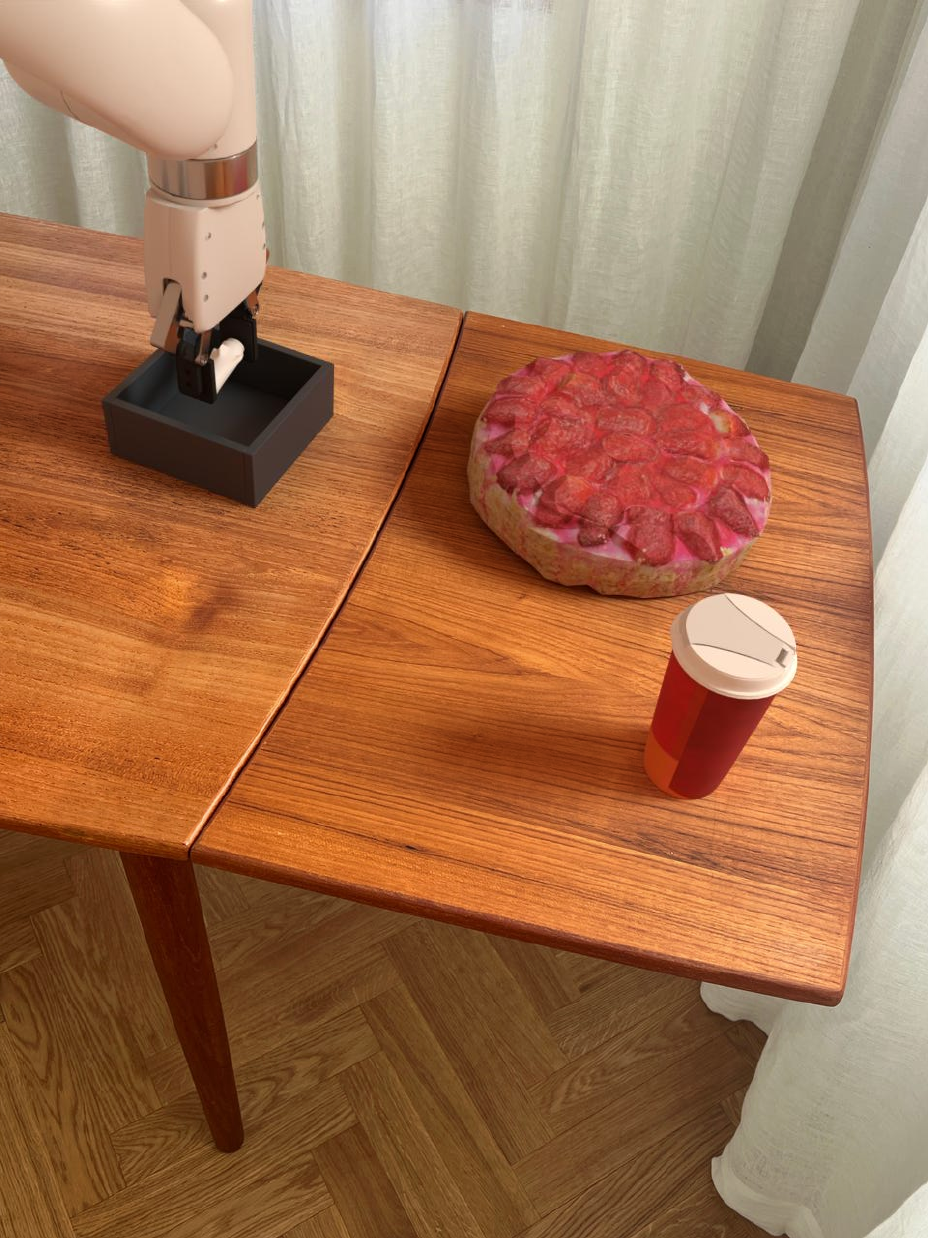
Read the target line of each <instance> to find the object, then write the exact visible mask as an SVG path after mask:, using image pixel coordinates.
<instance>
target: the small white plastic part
mask: <svg viewBox="0 0 928 1238" xmlns="http://www.w3.org/2000/svg"><path fill="white" fill-rule="evenodd" d="M243 352H244V346H243V345H242V344H241V343H240V342H239V341H238V340H236V339H233V338H229V339H228V340H227V341H224V342H223V343H222V345H221V346H220V348H219V349H215V348H214V349H213V350H212V353H211V355H210V358H211V359H212V360H214V365H215V378H216V391H217V393H218V391H219V390H220V388H221V387H222V385H223V384H224V383H225V381H226V380H227V378H228V377H229V375H230V374H231V373H232V371H233V370H234V368H235V367H236V365H237V364H238V363H239V362H240V361H241V359H242V357H243ZM198 399H199V398H198Z"/></svg>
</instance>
